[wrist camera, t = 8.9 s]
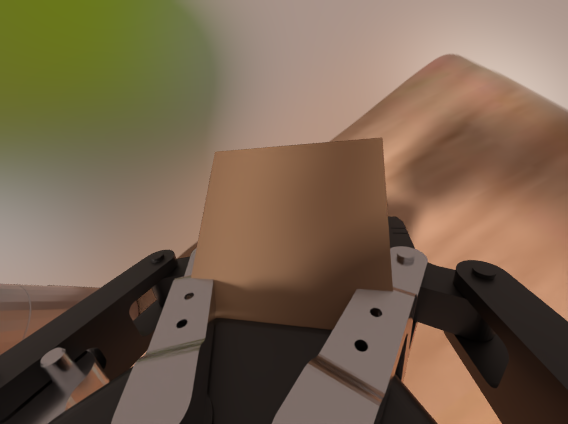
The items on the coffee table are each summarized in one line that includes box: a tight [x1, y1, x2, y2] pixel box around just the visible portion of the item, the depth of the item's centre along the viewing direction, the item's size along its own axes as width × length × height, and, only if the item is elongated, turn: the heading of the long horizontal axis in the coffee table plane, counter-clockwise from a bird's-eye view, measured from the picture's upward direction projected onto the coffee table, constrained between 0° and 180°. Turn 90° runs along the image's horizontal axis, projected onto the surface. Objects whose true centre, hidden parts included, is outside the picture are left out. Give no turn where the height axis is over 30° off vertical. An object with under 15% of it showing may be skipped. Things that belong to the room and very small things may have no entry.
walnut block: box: [191, 138, 393, 330], centre depth 11 cm, size 6×6×10 cm
